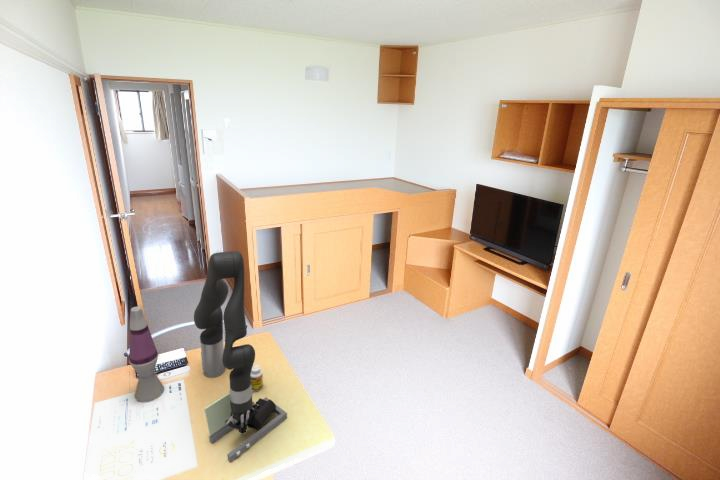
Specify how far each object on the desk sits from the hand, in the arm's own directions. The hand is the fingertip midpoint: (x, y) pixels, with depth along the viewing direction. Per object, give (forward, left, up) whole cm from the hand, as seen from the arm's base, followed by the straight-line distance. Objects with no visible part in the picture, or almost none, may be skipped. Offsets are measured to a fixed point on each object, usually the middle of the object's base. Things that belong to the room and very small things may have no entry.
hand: (242, 432), depth 139 cm
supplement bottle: (-16, +18, -2) cm, 24 cm away
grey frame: (0, +2, -1) cm, 3 cm away
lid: (-6, -5, +7) cm, 11 cm away
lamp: (-46, -12, -2) cm, 47 cm away
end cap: (0, +8, -2) cm, 9 cm away
